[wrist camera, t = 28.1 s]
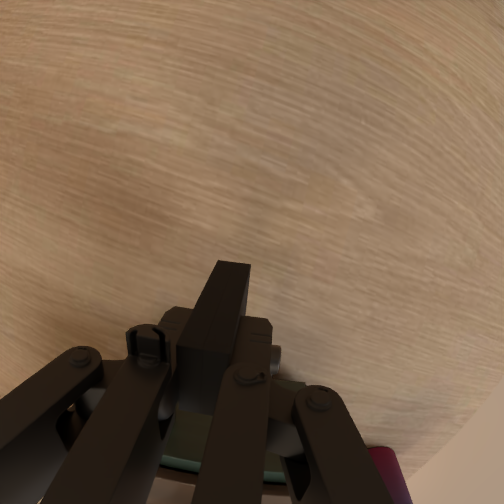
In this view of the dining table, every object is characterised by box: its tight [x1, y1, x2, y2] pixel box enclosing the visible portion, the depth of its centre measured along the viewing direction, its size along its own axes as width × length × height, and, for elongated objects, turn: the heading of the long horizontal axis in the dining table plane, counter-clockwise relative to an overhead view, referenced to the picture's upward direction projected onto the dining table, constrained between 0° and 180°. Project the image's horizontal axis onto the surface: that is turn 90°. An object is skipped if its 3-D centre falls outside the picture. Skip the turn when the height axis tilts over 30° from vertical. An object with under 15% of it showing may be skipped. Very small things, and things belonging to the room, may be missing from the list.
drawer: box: [159, 345, 306, 485], centre depth 19 cm, size 20×11×8 cm, turn 174°
